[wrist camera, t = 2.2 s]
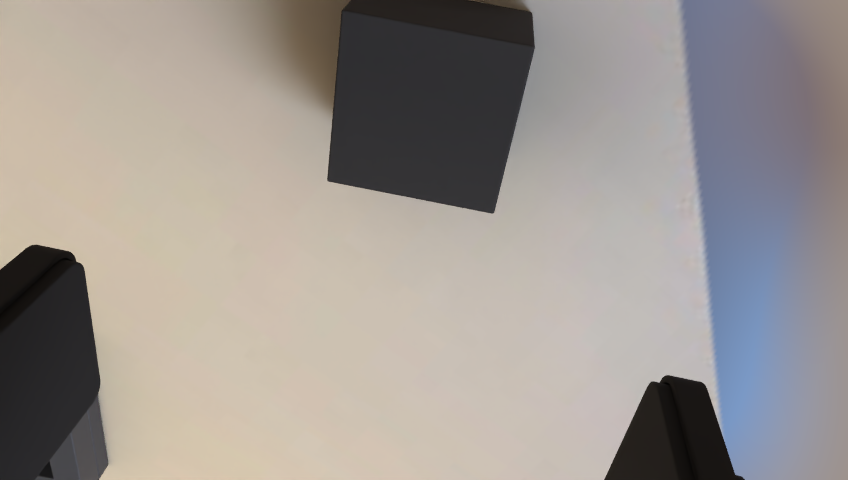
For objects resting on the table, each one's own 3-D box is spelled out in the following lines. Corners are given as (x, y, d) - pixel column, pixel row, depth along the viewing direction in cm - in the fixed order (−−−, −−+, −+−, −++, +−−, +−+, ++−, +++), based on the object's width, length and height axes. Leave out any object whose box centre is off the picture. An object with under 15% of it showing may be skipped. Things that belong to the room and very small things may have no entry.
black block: (352, 133, 25) (326, 181, 22) (368, -19, 22) (341, 9, 19) (497, 161, 25) (493, 214, 21) (532, 12, 22) (535, 46, 19)
